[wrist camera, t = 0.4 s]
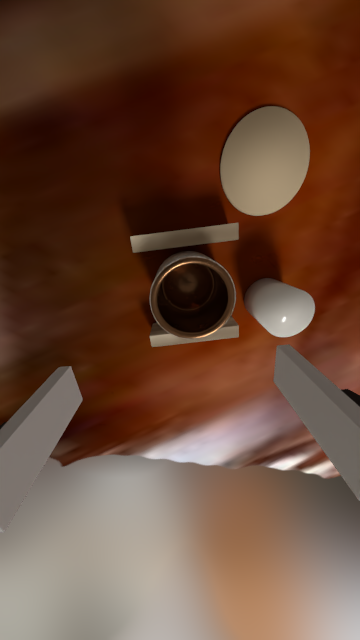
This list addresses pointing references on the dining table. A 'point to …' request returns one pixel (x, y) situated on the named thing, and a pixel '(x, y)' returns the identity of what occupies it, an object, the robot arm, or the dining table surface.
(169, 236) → the cradle
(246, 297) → the white cylinder
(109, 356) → the dining table surface
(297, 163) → the mat
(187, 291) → the planter
